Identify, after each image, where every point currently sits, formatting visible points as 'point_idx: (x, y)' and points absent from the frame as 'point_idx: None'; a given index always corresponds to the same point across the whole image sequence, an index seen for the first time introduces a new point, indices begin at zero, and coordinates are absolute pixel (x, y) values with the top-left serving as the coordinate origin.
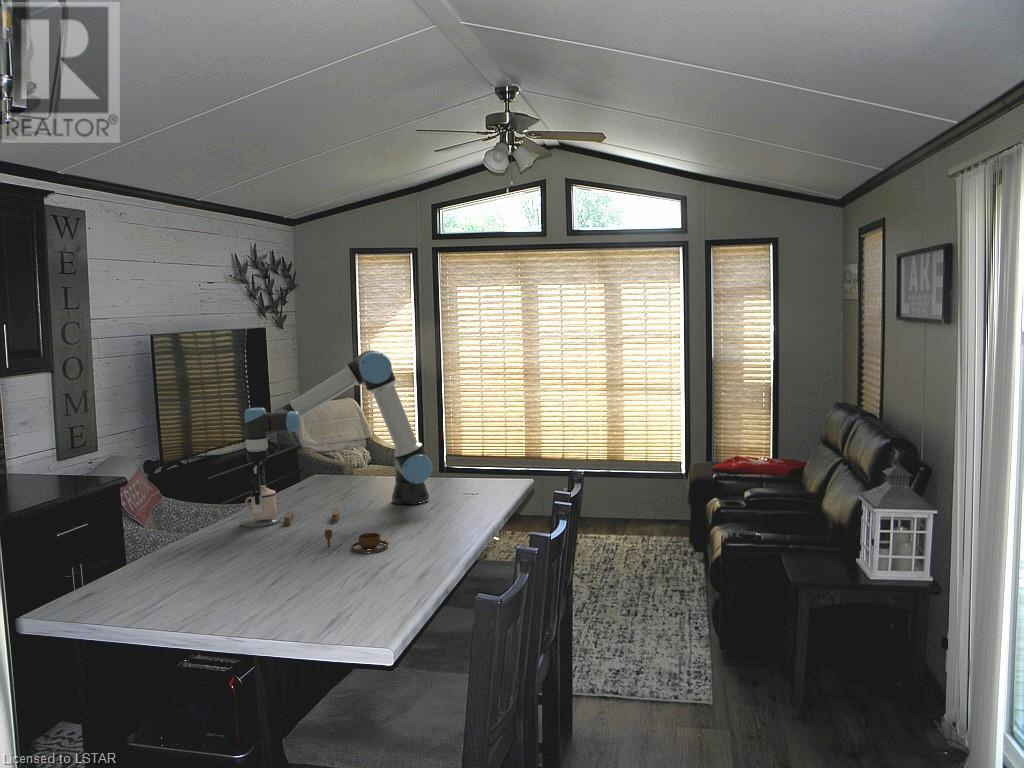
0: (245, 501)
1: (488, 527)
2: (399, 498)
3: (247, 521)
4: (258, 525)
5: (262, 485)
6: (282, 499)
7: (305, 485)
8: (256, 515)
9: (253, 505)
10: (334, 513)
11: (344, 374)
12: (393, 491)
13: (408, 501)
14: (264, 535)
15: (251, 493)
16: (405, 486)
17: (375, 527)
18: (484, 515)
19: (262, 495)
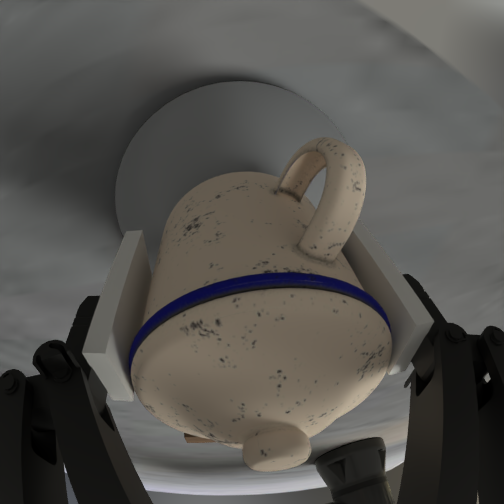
0: (333, 145)
1: (149, 490)
2: (330, 463)
3: (216, 129)
4: (119, 219)
5: (299, 460)
6: None
7: None
8: (167, 223)
9: (175, 246)
10: (202, 439)
11: None
12: (360, 462)
13: (318, 464)
14: (2, 270)
15: (240, 312)
16: (334, 485)
17: (139, 451)
18: (211, 492)
19: (140, 399)
